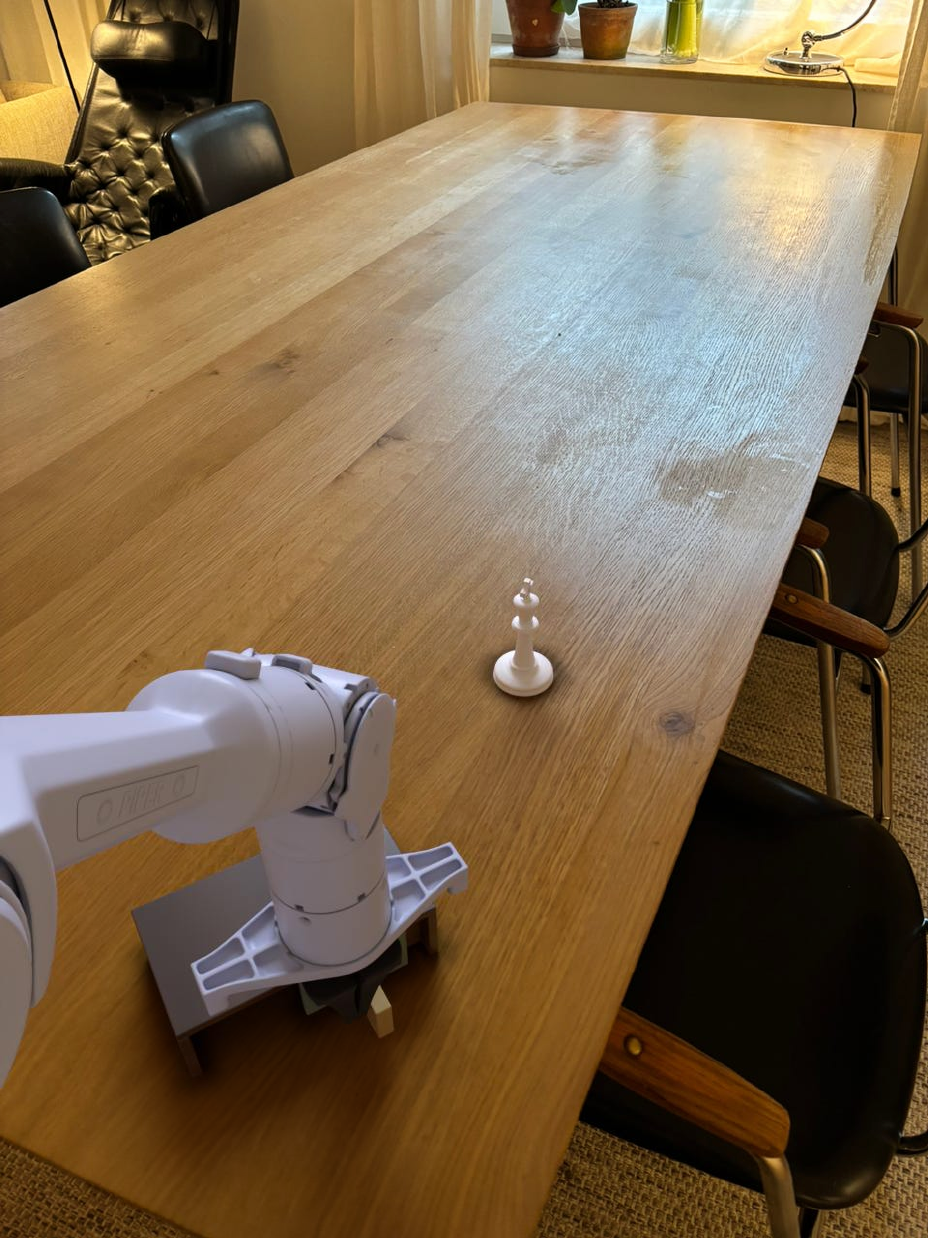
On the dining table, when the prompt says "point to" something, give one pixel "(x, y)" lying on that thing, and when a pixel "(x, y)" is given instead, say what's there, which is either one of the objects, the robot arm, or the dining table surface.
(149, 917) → the cabinet
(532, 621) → the chess piece
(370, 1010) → the sliding door
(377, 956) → the robot arm
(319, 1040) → the dining table surface
